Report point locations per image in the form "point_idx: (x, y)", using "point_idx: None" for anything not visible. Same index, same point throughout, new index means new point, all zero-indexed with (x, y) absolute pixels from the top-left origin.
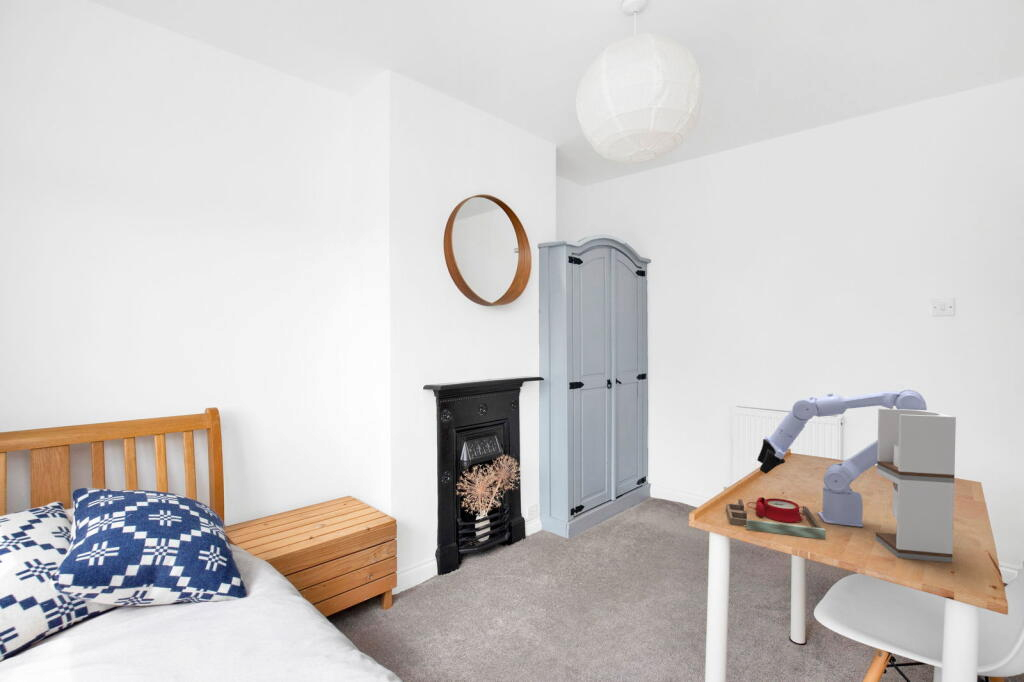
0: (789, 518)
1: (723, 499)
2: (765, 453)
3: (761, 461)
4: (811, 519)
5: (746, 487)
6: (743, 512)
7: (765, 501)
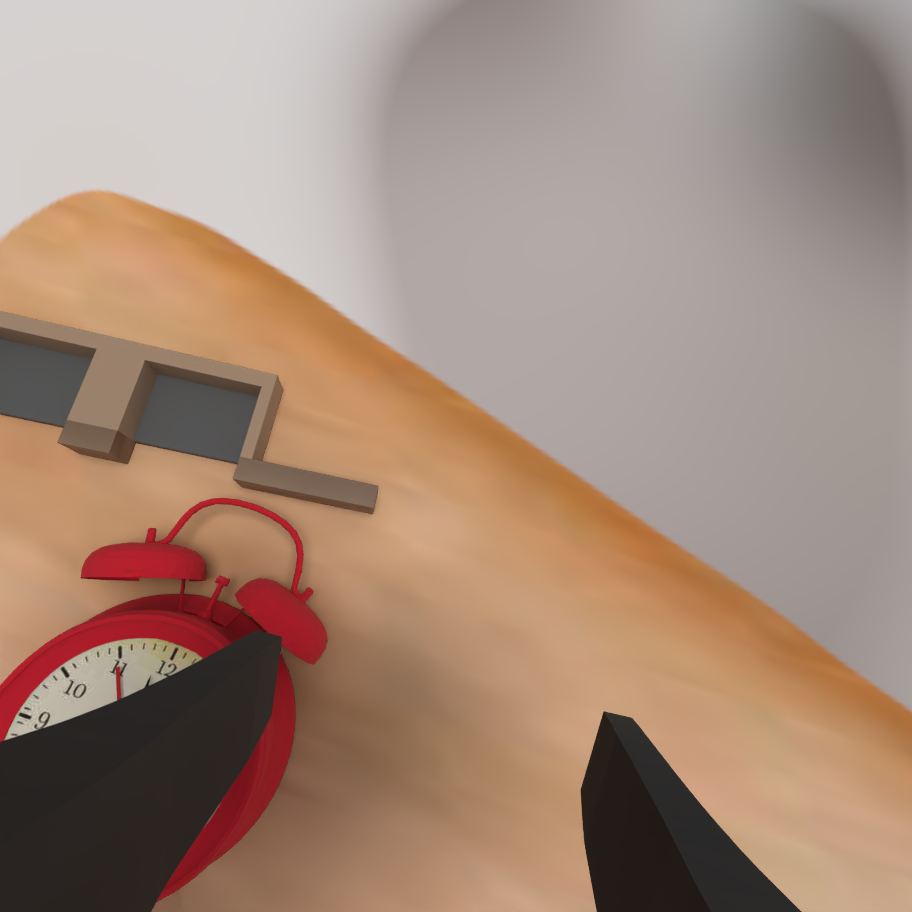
0: None
1: (471, 432)
2: (647, 907)
3: (591, 770)
4: None
5: (771, 673)
6: (79, 425)
7: (190, 630)
